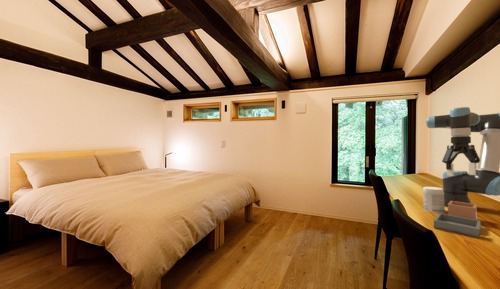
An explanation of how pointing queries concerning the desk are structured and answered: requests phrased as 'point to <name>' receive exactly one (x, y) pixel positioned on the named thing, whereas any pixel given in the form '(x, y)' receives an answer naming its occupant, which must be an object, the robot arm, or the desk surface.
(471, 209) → the terracotta bin
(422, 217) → the desk surface
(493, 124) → the robot arm
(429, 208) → the supplement tub
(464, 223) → the gray tray
